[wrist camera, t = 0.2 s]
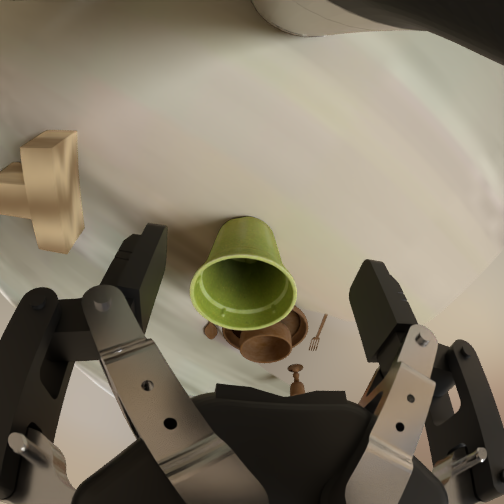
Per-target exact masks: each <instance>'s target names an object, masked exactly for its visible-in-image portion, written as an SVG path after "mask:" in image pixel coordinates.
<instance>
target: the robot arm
mask: <svg viewBox="0 0 504 504" xmlns="http://www.w3.org/2000/svg"><path fill="white" fill-rule="evenodd" d="M251 1H252V3H253V5H254V6H255V8H256V10H257V11H258V12H259V14H260V15H261V16H262V17H263V18H264V19H265V20H266V21H268V22H269V23H270V24H271V25H273V26H274V27H276V28H278V29H280V30H282V31H284V32H287V33H290V34H293V35H298V36H305V37H320V36H326V35H334V34H344V33H355V32H369V31H393V30H418V31H429V32H431V33H434V34H436V35H439V36H441V37H444V38H446V39H448V40H451V41H453V42H455V43H457V44H459V45H461V46H463V47H466V48H468V49H470V50H472V51H474V52H476V53H478V54H480V55H482V56H485V57H487V58H489V59H491V60H493V61H495V62H497V63H500V64H502V65H504V0H251ZM166 252H167V226H164V225H158V224H151V223H148V224H147V225H146V227H145V229H144V231H143V233H142V235H137V234H132V235H131V236H129V237H128V238H127V239H125V240H124V241H123V243H122V244H121V246H120V248H119V251H118V252H117V253H116V255H115V258H114V259H113V261H112V263H111V264H110V266H109V268H108V270H107V272H106V274H105V276H104V278H103V279H102V281H101V283H100V285H98V286H95V287H92V288H90V289H89V290H88V291H87V292H86V293H85V294H84V295H83V297H82V298H78V299H62V300H58V297H57V295H56V293H55V292H54V291H53V290H51V289H49V288H45V287H40V288H35V289H33V290H31V291H29V292H27V293H26V294H25V295H24V296H23V298H22V299H21V301H20V303H19V305H18V306H17V308H16V310H15V312H14V314H13V316H12V318H11V320H10V321H9V323H8V325H7V327H6V329H5V331H4V333H3V335H2V337H1V340H0V501H1V502H4V503H7V504H484V503H486V502H488V501H490V500H493V499H495V498H497V497H499V496H502V495H504V428H503V424H502V421H501V418H500V415H499V412H498V409H497V406H496V403H495V400H494V397H493V394H492V392H491V389H490V386H489V384H488V381H487V378H486V376H485V373H484V371H483V368H482V366H481V363H480V361H479V359H478V356H477V354H476V352H475V350H474V348H473V347H472V346H471V345H470V344H469V343H467V342H466V341H464V340H456V341H455V342H454V343H453V344H452V346H450V347H448V346H445V345H442V344H439V343H438V341H437V339H436V337H435V335H434V334H433V332H431V330H429V329H428V328H426V327H425V326H423V325H419V324H418V323H417V320H416V318H415V316H414V314H413V312H412V310H411V307H410V305H409V303H408V302H407V299H406V297H405V295H404V294H403V291H402V289H401V287H400V285H399V283H398V282H397V281H396V280H395V279H394V278H393V277H392V276H391V275H390V274H389V272H388V270H387V268H386V266H385V264H384V263H383V262H380V261H375V260H369V259H366V260H365V261H364V262H363V263H362V265H361V267H360V269H359V271H358V273H357V275H356V277H355V279H354V281H353V283H352V285H351V288H350V291H349V301H350V304H351V307H352V310H353V314H354V317H355V320H356V323H357V327H358V330H359V334H360V337H361V340H362V344H363V347H364V351H365V354H366V358H367V361H368V362H379V365H380V366H379V367H378V368H377V369H376V371H375V373H374V375H373V377H372V379H371V381H370V383H369V385H368V387H367V389H366V391H365V393H364V395H363V396H362V398H361V400H360V402H359V403H358V404H356V403H354V402H351V401H348V400H347V399H346V394H345V391H313V392H309V393H304V394H299V395H294V396H289V397H282V396H278V395H275V394H272V393H268V392H265V391H262V390H258V389H255V388H252V387H245V386H235V385H226V384H218V383H217V384H216V388H215V392H212V393H206V394H201V395H198V396H195V397H192V398H190V397H189V396H188V394H187V393H186V391H185V390H184V388H183V387H182V385H181V384H180V382H179V381H178V379H177V378H176V376H175V374H174V373H173V371H172V370H171V368H170V367H169V365H168V363H167V362H166V360H165V358H164V357H163V355H162V353H161V352H160V350H159V348H158V347H157V345H156V344H155V342H154V341H153V340H152V339H151V338H150V339H147V338H146V337H145V332H146V329H147V325H148V322H149V319H150V315H151V312H152V309H153V306H154V302H155V299H156V296H157V293H158V290H159V287H160V284H161V281H162V278H163V275H164V271H165V266H166ZM89 360H99V362H100V365H101V367H102V369H103V372H104V374H105V376H106V378H107V381H108V383H109V385H110V387H111V389H112V392H113V394H114V396H115V398H116V400H117V402H118V404H119V406H120V409H121V411H122V413H123V415H124V417H125V419H126V421H127V423H128V425H129V427H130V428H131V430H132V432H133V434H134V436H135V437H136V439H137V440H136V441H135V442H134V443H132V444H131V445H130V446H128V447H127V448H126V449H125V450H123V451H122V452H121V453H120V454H119V455H117V456H116V457H115V458H113V459H112V460H111V461H109V462H108V463H107V464H106V465H104V466H103V467H102V468H100V469H99V470H98V471H97V472H95V473H94V474H93V475H91V476H90V477H89V478H87V479H86V480H85V481H83V482H82V484H80V485H79V487H78V488H77V489H75V488H73V486H72V485H71V484H70V482H69V480H68V478H67V474H66V461H65V457H64V455H63V454H62V452H61V450H60V449H59V448H58V447H57V446H55V445H54V444H53V443H54V438H55V433H56V429H57V425H58V420H59V416H60V412H61V408H62V405H63V401H64V397H65V393H66V389H67V386H68V383H69V380H70V376H71V372H72V370H73V366H74V363H75V361H89ZM454 385H456V388H457V391H458V394H459V397H460V400H461V406H460V409H459V411H458V412H457V413H456V414H454V411H453V408H452V404H451V401H450V397H449V394H448V391H449V389H451V388H452V387H453V386H454ZM424 424H425V427H426V432H427V437H428V441H429V446H430V451H431V456H432V462H433V470H432V472H431V471H429V470H428V469H427V468H426V467H425V466H424V465H423V464H422V463H421V462H420V461H419V460H418V459H417V458H416V457H415V456H414V455H413V454H414V452H415V449H416V446H417V444H418V441H419V438H420V435H421V433H422V430H423V427H424Z"/></svg>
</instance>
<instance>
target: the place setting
mask: <svg viewBox="0 0 504 504" xmlns="http://www.w3.org/2000/svg"><path fill="white" fill-rule="evenodd" d="M327 316H328V314H324V317H323V319H322V322H321V325H320V327H319V330H318V332H317V335H316V337H313V338H312V340H313V339H314V341H315V339H316V342H317V340H318V343H319V340H320V338H319V335H320V333H321V330H322V328H323V326H324V323H325V321H326V318H327ZM222 332H223V336H224V338H225V339H226V341H227V342H228V343H229V344H231V345H232V346H233V347H235V348H237V349H239V350H240V353H241V354H242V356H243V357H245V358H246V359H248V360H250V361H253V362H258V363H272V362H277V361H279V360H282V359H284V358H286V357H287V356H288V355H289V354H290V353H291V351H292V348H293V347H295V346H296V345H298V344H299V343H300V342H302V340H303V339H304V338H305V337H306V335H307V332H308V322H307V319H306V317H305V315H304V313H303V312H302V311H301V310H300V309H299V308H297V307H296V306H295V305H294V307H293V309H292V310H291V311H290V313H289V314H288V315H287V316H286V317H285V318H283V319H282V320H280V321H279V322H277V323H275V324H273V325H271V326H268V327H265V328H262V329H257V330H233V329H227V328H224V327H222ZM205 334H206V336H207V337H208V338H209V339H213V338H215V336H216V335H217V328H216V326H215V325H214V324H213V323H211V322H210V321H209V324H208V325H207V326H206V327H205ZM312 340H311V343H312ZM314 341H313V344H312V348H313V345H314ZM316 342H315V345H314V349H315V346H316ZM311 343H310V347H311ZM318 343H317V346H318ZM310 347H309V350H310ZM312 348H311V350H312ZM314 349H313V350H314ZM316 349H317V347H316ZM287 369H288V371H290V372H294V374H293V377H294V383H292V384H291V386H290V396H294V395H299V394H304V393H305V390H304V385H303V384H302V383H301V382H299V379H298V378H299V374H298V372H299V371H301V370H302V369H303V366H302V365H301V364H292V365H290V366H289V367H288V368H287Z"/></svg>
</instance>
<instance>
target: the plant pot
mask: <svg viewBox="0 0 504 504" xmlns="http://www.w3.org/2000/svg"><path fill="white" fill-rule="evenodd" d="M190 298H191V301H192V303H193V306H194V307H195V309H196V310H197V311H198V312H199V314H201V315H202V316H203V317H204V318H205V319H207V320H208V321H210V322H211V323H213V324H216V325H218V326H221V327H224V328H227V329H233V330H257V329H262V328H265V327H268V326H271V325H273V324H275V323H277V322H279V321H280V320H282V319H283V318H285V317H286V316H287V315H288V314H289V313H290V311H291V310H292V309H293V307H294V305H295V302H296V299H297V289H296V284H295V281H294V279H293V277H292V276H291V274H290V273H289V272H288V270H287V269H285V267H284V266H283V264H282V261H281V258H280V254H279V251H278V248H277V244H276V241H275V238H274V235H273V232H272V230H271V229H270V227H269V226H268V225H267V224H266V223H264V222H263V221H261V220H259V219H257V218H254V217H242V218H237V219H231V220H229V221H228V222H226V223H225V224H224V225H223V226H222V227H221V229H220V231H219V233H218V235H217V237H216V240H215V243H214V245H213V247H212V250H211V252H210V254H209V257H208V259H207V261H206V262H205V263H204V264H203V265H202V266H201V267H200V268H199V269H198V270H197V271H196V273H195V274H194V276H193V278H192V281H191V284H190Z"/></svg>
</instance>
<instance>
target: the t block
mask: <svg viewBox="0 0 504 504" xmlns="http://www.w3.org/2000/svg"><path fill="white" fill-rule="evenodd" d="M20 154H21V162H22V163H18V162H12V163H11V164H10V165H9V166H7V167H6V168H5V169H3V170H2V171H1V172H0V214H2V215H8V216H15V217H21V218H28V219H32V223H33V227H34V231H35V236H36V239H37V243H38V247H39V249H42V250H47V251H52V252H58V253H63V254H68V252H69V251H70V249H71V248H72V246H73V245H74V243H75V241H76V240H77V238H78V237H79V235H80V234H81V233H82V231H83V230H84V228H85V227H84V220H83V212H82V203H81V194H80V183H79V170H78V152H77V131H69V130H46V131H45V132H43V133H42V134H40V135H38V136H37V137H35V138H34V139H32V140H31V141H29V142H28V143H26V144H25V145H23V146H22V147H20Z"/></svg>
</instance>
